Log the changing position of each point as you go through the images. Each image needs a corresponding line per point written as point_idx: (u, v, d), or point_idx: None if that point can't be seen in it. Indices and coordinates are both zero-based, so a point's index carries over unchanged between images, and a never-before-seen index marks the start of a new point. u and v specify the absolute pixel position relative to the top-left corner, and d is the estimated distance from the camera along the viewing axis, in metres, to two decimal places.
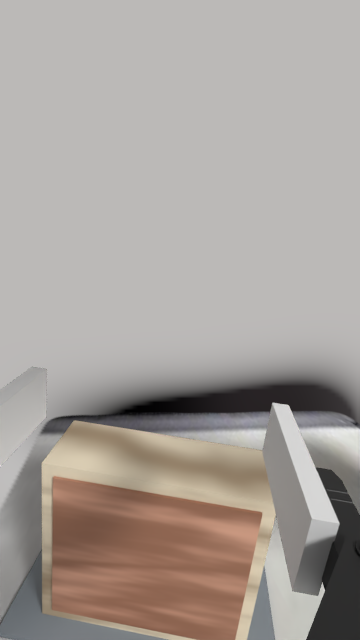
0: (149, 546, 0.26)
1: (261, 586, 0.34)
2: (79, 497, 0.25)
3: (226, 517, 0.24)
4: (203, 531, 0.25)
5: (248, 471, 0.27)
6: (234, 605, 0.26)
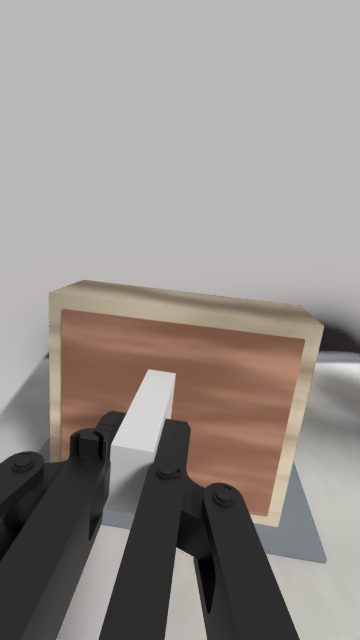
0: None
1: (291, 474, 0.30)
2: (92, 333, 0.22)
3: (262, 346, 0.21)
4: (235, 368, 0.22)
5: (284, 311, 0.23)
6: (269, 462, 0.23)
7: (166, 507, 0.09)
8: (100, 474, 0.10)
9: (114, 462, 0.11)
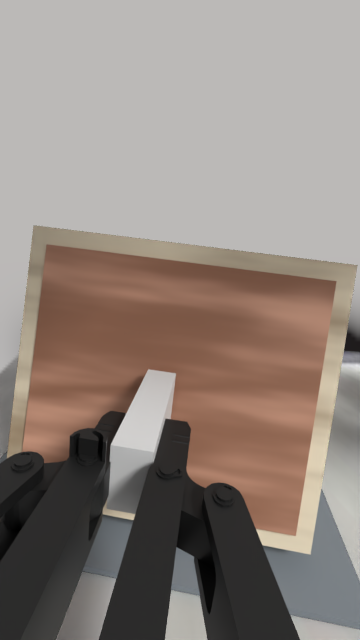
0: (173, 350, 0.18)
1: None
2: (80, 273, 0.18)
3: (285, 290, 0.17)
4: (252, 317, 0.18)
5: None
6: (297, 451, 0.18)
7: (166, 507, 0.09)
8: (100, 474, 0.10)
9: (114, 462, 0.11)
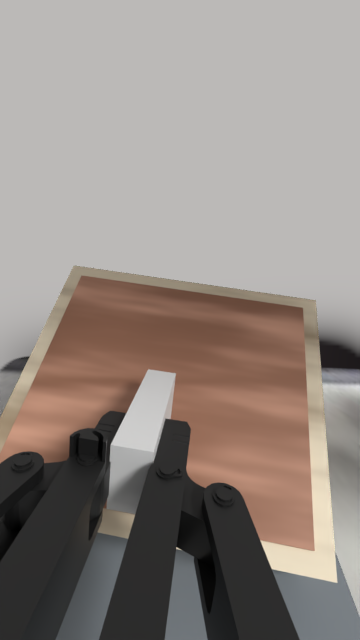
0: (176, 350, 0.21)
1: None
2: (104, 294, 0.23)
3: (265, 311, 0.22)
4: (242, 328, 0.22)
5: None
6: (297, 443, 0.18)
7: (166, 507, 0.09)
8: (100, 474, 0.10)
9: (114, 462, 0.11)
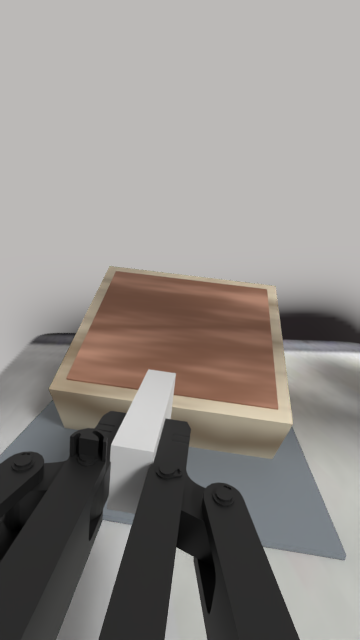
0: (184, 311, 0.31)
1: (300, 462, 0.27)
2: (132, 281, 0.34)
3: (242, 291, 0.33)
4: (227, 299, 0.32)
5: None
6: (266, 357, 0.27)
7: (166, 507, 0.09)
8: (100, 474, 0.10)
9: (114, 462, 0.11)
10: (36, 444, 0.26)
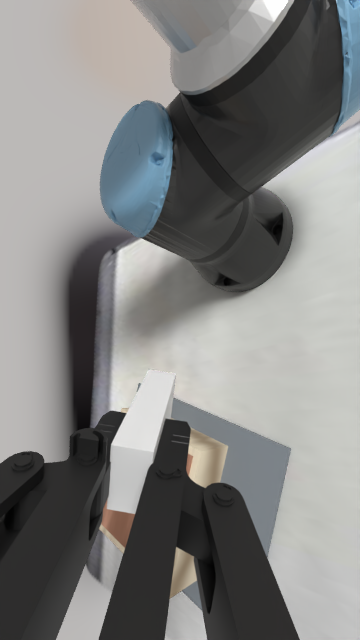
0: None
1: (231, 428, 0.44)
2: (107, 512, 0.48)
3: None
4: None
5: None
6: None
7: (166, 507, 0.09)
8: (100, 474, 0.10)
9: (114, 462, 0.11)
10: None
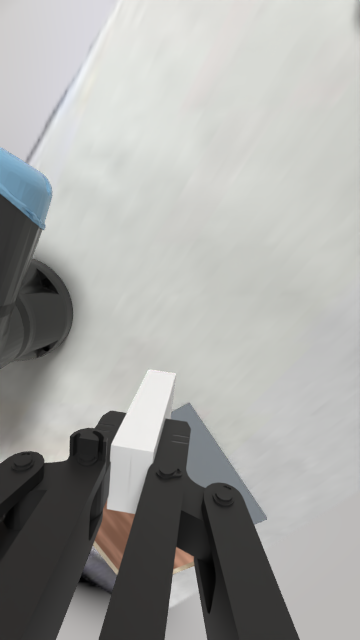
0: (127, 539, 0.50)
1: None
2: None
3: None
4: (100, 525, 0.50)
5: None
6: None
7: (166, 507, 0.09)
8: (100, 474, 0.10)
9: (114, 462, 0.11)
10: None
